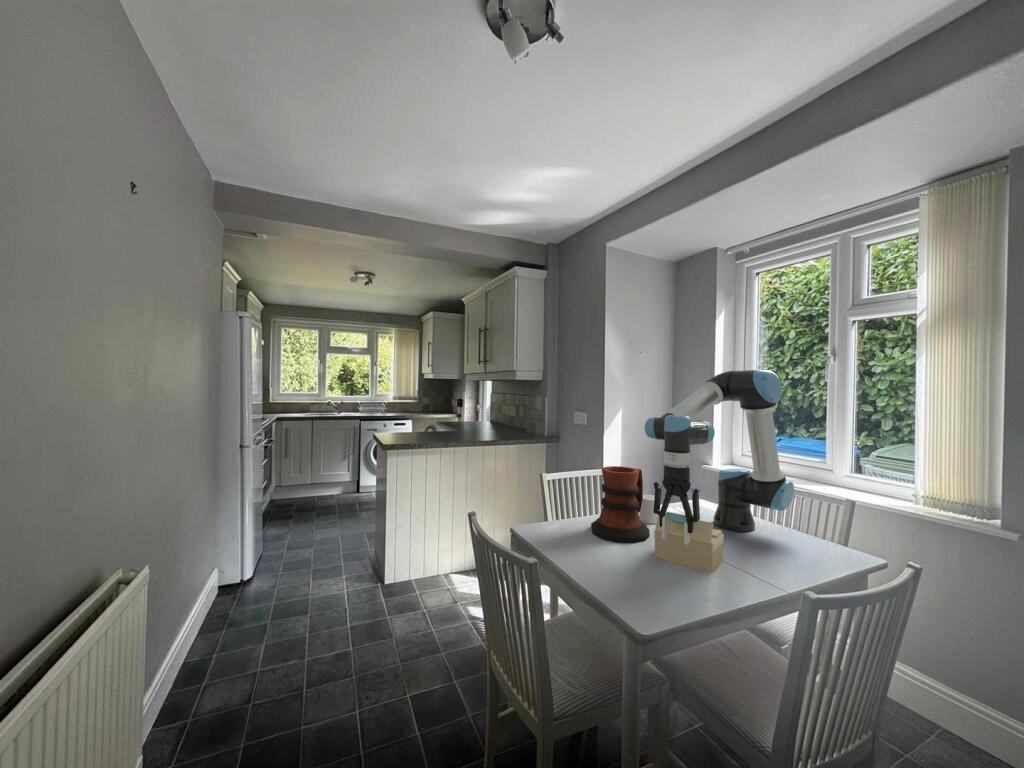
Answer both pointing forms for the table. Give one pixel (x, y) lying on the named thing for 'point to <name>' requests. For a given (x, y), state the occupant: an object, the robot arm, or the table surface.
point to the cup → (648, 510)
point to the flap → (676, 526)
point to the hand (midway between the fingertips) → (675, 540)
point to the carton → (691, 550)
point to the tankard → (621, 506)
